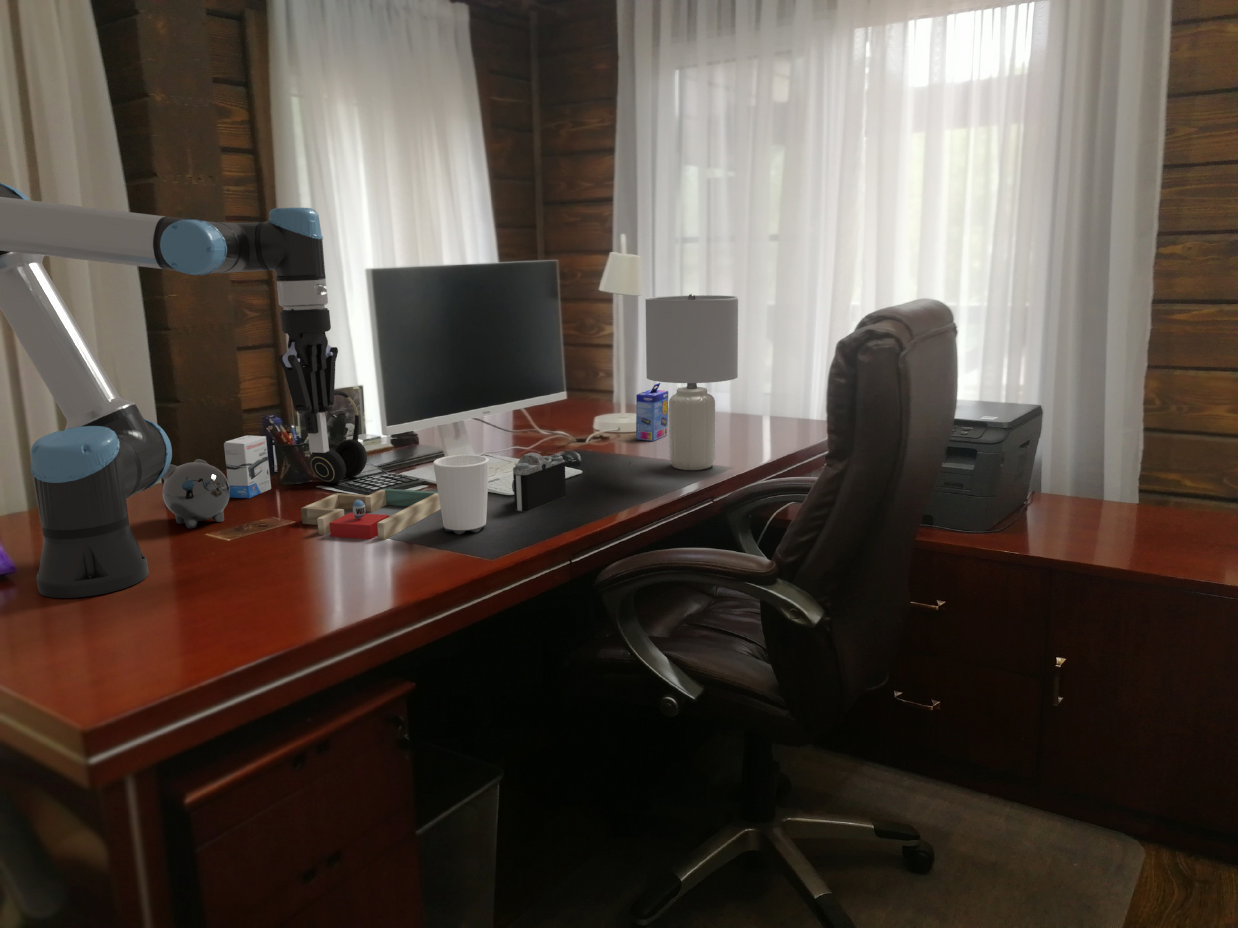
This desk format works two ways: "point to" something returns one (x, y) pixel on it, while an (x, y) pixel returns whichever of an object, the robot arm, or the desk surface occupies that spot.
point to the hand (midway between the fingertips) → (319, 451)
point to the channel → (343, 504)
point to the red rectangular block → (356, 523)
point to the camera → (538, 481)
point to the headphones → (341, 456)
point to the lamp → (692, 367)
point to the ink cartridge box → (651, 414)
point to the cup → (462, 491)
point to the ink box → (247, 466)
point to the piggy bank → (195, 492)
